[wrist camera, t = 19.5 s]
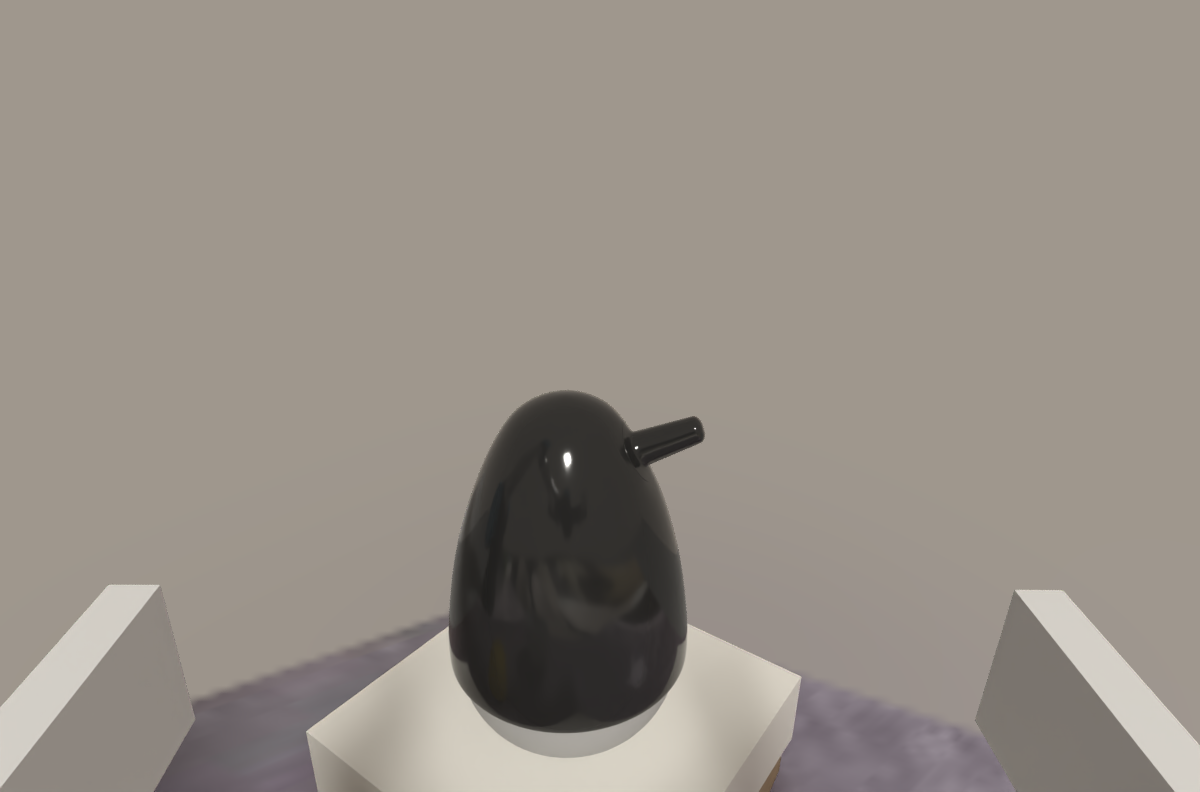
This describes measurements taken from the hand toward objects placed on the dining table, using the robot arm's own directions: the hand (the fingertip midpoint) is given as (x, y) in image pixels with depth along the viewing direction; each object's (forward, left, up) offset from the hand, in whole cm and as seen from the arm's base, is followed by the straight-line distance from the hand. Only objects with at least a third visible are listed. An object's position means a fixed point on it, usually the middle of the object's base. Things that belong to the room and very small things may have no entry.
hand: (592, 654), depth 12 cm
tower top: (-9, +14, -22) cm, 28 cm away
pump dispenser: (-9, +14, -18) cm, 25 cm away
